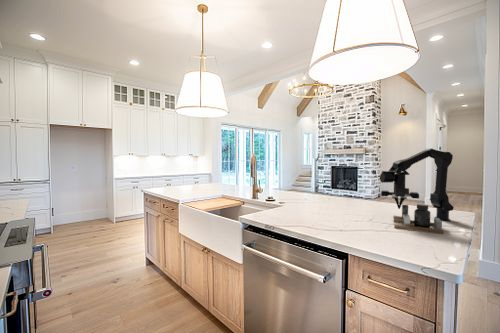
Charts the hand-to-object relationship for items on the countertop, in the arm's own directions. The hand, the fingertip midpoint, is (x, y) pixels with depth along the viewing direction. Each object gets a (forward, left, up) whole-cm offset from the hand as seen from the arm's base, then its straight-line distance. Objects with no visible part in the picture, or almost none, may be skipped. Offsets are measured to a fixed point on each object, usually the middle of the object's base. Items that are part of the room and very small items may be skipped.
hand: (399, 208), depth 140 cm
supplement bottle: (+14, +10, -6) cm, 18 cm away
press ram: (+8, +3, -6) cm, 10 cm away
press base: (+10, +7, -6) cm, 14 cm away
